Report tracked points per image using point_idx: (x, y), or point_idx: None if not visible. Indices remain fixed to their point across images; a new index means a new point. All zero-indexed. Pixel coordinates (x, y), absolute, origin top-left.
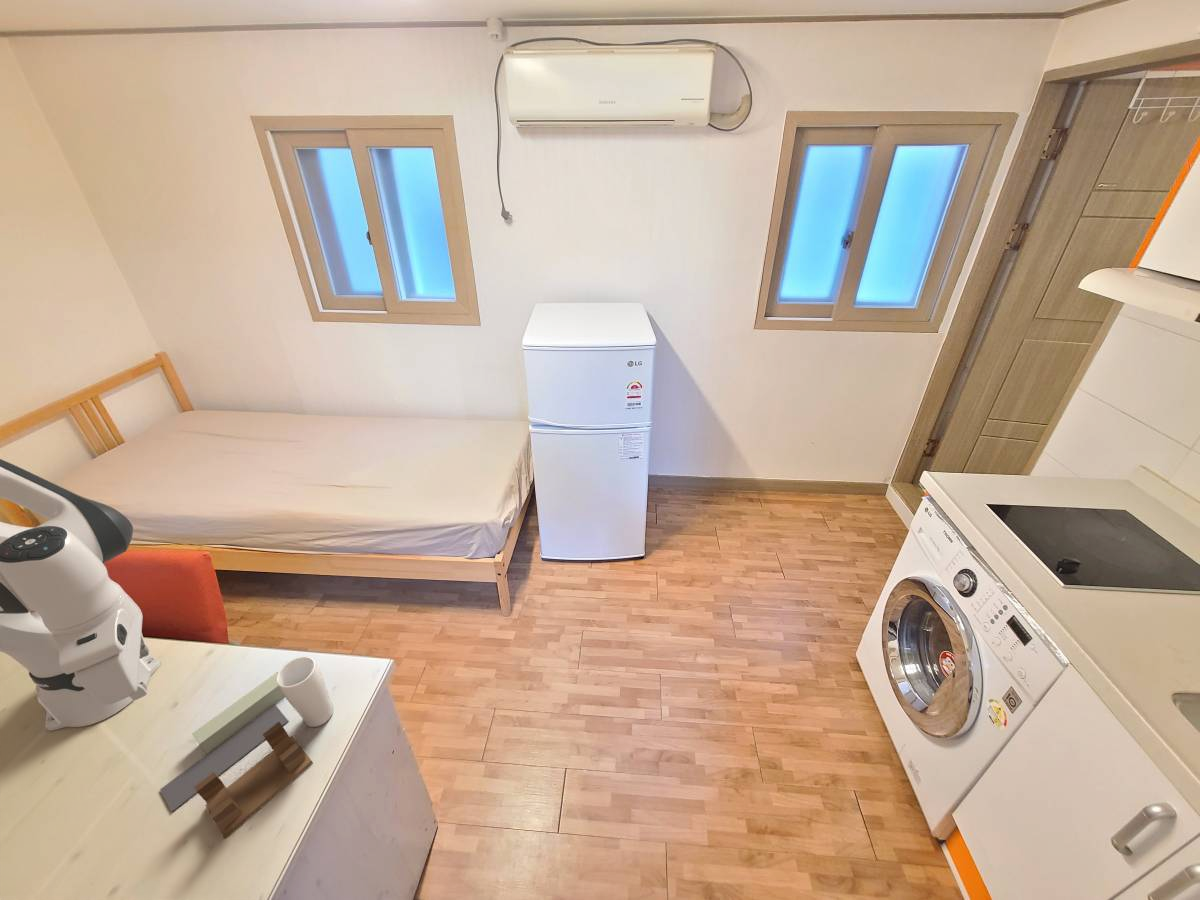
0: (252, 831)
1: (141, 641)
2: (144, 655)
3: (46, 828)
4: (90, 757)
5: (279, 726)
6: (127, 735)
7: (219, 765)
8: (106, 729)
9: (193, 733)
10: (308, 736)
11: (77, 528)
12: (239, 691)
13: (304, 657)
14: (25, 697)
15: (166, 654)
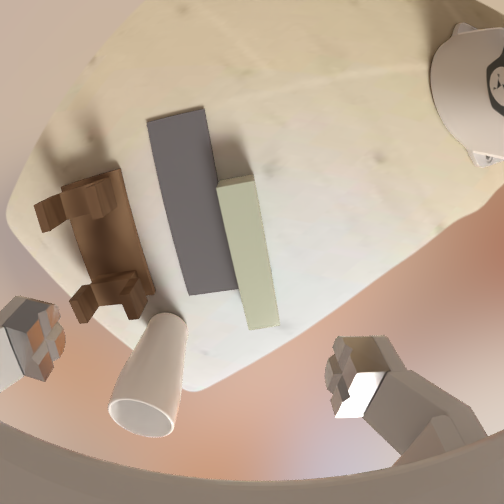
0: None
1: (384, 430)
2: (330, 365)
3: None
4: (368, 37)
5: (128, 316)
6: (372, 85)
7: (178, 194)
8: (409, 67)
9: (252, 183)
10: None
11: None
12: (318, 249)
13: (166, 433)
14: None
15: (485, 177)
